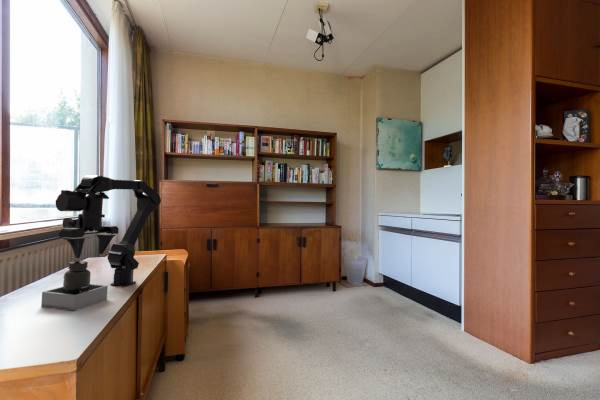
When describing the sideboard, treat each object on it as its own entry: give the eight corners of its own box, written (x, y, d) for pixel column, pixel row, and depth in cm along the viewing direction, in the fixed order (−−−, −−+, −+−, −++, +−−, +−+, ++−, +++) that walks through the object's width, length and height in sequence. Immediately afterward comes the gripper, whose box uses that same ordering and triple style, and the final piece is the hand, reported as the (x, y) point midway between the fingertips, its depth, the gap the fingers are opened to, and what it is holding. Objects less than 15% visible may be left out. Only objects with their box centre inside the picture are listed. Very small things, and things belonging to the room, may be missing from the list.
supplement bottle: (87, 302, 93) (89, 263, 93) (59, 304, 90) (62, 264, 90) (90, 296, 99) (92, 259, 99) (64, 298, 96) (66, 260, 96)
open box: (77, 295, 101) (77, 282, 101) (106, 299, 99) (107, 285, 99) (41, 306, 90) (42, 291, 90) (73, 311, 87) (74, 295, 87)
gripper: (95, 210, 115) (93, 250, 115) (46, 210, 97) (43, 258, 97) (120, 211, 113) (118, 252, 113) (75, 212, 95) (72, 261, 95)
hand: (89, 256), depth 104 cm, fingers open, 9 cm apart
